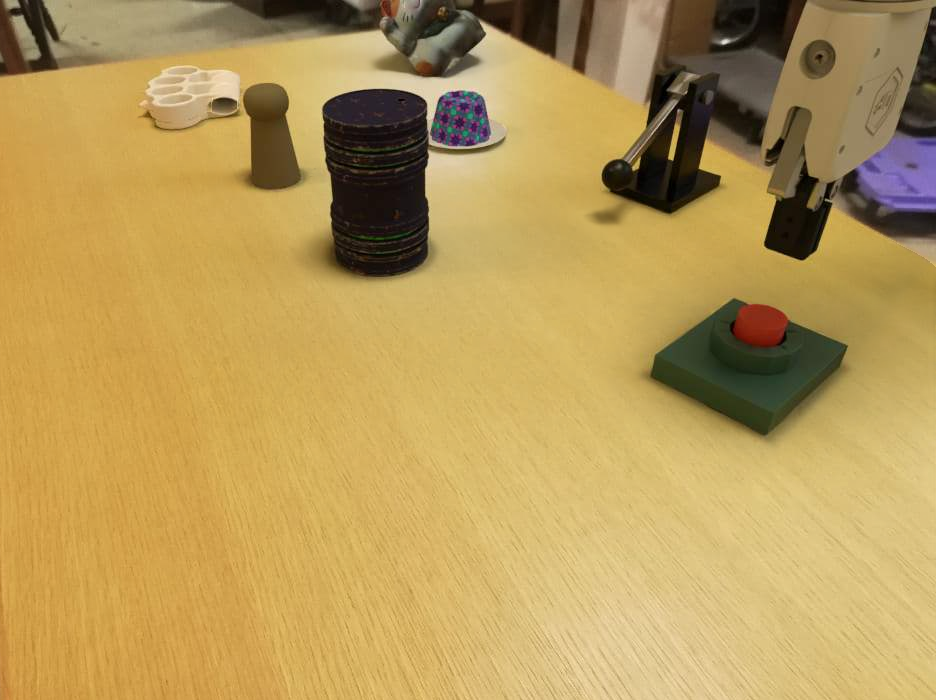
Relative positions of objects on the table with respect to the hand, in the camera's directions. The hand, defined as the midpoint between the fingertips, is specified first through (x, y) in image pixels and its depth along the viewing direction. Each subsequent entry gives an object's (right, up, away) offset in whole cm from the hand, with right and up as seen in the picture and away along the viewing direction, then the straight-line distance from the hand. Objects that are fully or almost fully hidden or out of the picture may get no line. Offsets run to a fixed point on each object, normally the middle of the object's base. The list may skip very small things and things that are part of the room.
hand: (789, 250), depth 57 cm
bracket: (+2, +14, +33) cm, 36 cm away
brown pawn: (-43, +16, +39) cm, 60 cm away
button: (0, -6, +5) cm, 7 cm away
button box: (0, -9, +7) cm, 11 cm away
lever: (-1, +17, +27) cm, 32 cm away
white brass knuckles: (-59, +33, +59) cm, 90 cm away
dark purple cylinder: (-30, +4, +24) cm, 39 cm away
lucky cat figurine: (-23, +44, +71) cm, 87 cm away
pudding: (-20, +24, +47) cm, 57 cm away
